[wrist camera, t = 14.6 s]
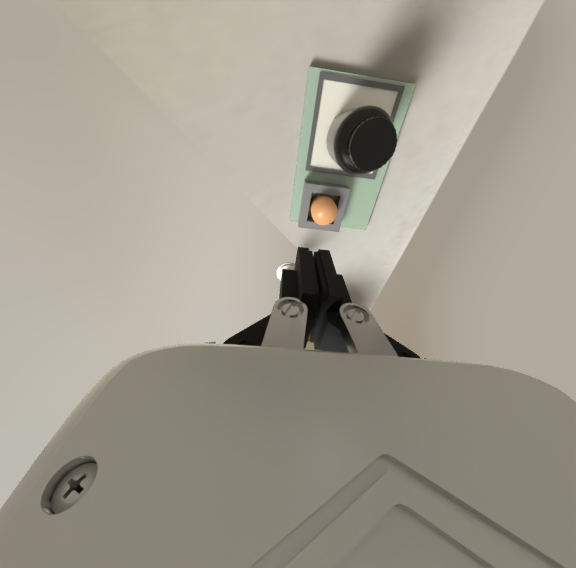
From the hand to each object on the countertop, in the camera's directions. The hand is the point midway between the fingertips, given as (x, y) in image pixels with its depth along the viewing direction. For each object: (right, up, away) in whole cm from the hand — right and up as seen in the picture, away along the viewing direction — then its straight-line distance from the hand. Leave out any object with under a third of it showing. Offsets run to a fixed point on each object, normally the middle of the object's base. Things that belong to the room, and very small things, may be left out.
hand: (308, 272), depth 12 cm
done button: (+5, +13, +25) cm, 29 cm away
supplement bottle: (+8, +21, +20) cm, 30 cm away
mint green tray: (+7, +19, +22) cm, 30 cm away
